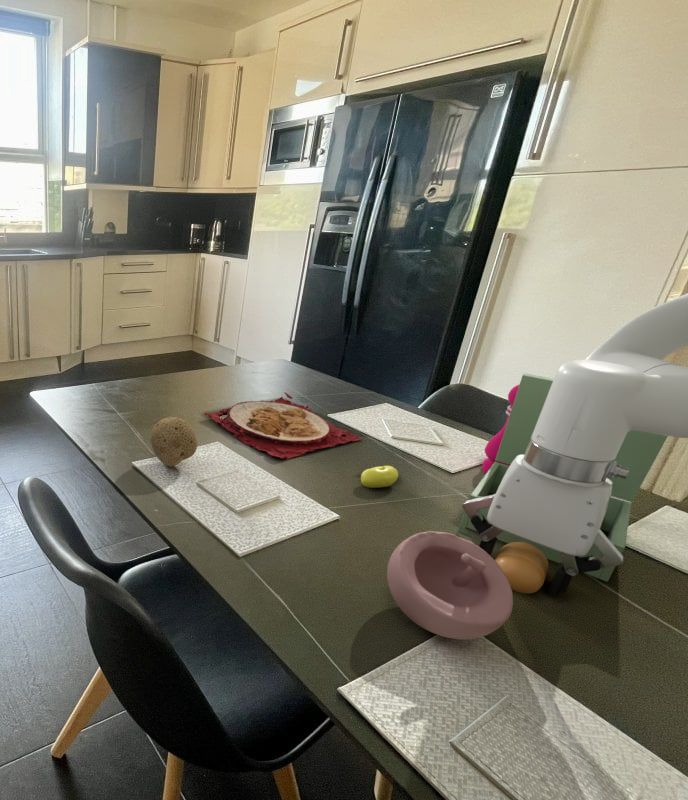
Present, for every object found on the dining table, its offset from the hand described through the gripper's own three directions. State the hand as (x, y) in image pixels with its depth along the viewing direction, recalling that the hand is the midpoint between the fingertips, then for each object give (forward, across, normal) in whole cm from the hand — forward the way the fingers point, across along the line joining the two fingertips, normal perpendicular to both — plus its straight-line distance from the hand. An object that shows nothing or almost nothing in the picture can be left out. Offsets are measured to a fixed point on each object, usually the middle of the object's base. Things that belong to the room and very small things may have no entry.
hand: (516, 575), depth 66 cm
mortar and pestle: (+1, +5, +17) cm, 17 cm away
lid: (-14, 0, -21) cm, 26 cm away
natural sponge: (+1, +52, +10) cm, 53 cm away
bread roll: (+1, 0, 0) cm, 1 cm away
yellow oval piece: (+1, +22, -13) cm, 26 cm away
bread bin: (+1, 0, -16) cm, 16 cm away
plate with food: (+1, +46, -22) cm, 52 cm away
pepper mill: (+1, +8, -37) cm, 38 cm away
